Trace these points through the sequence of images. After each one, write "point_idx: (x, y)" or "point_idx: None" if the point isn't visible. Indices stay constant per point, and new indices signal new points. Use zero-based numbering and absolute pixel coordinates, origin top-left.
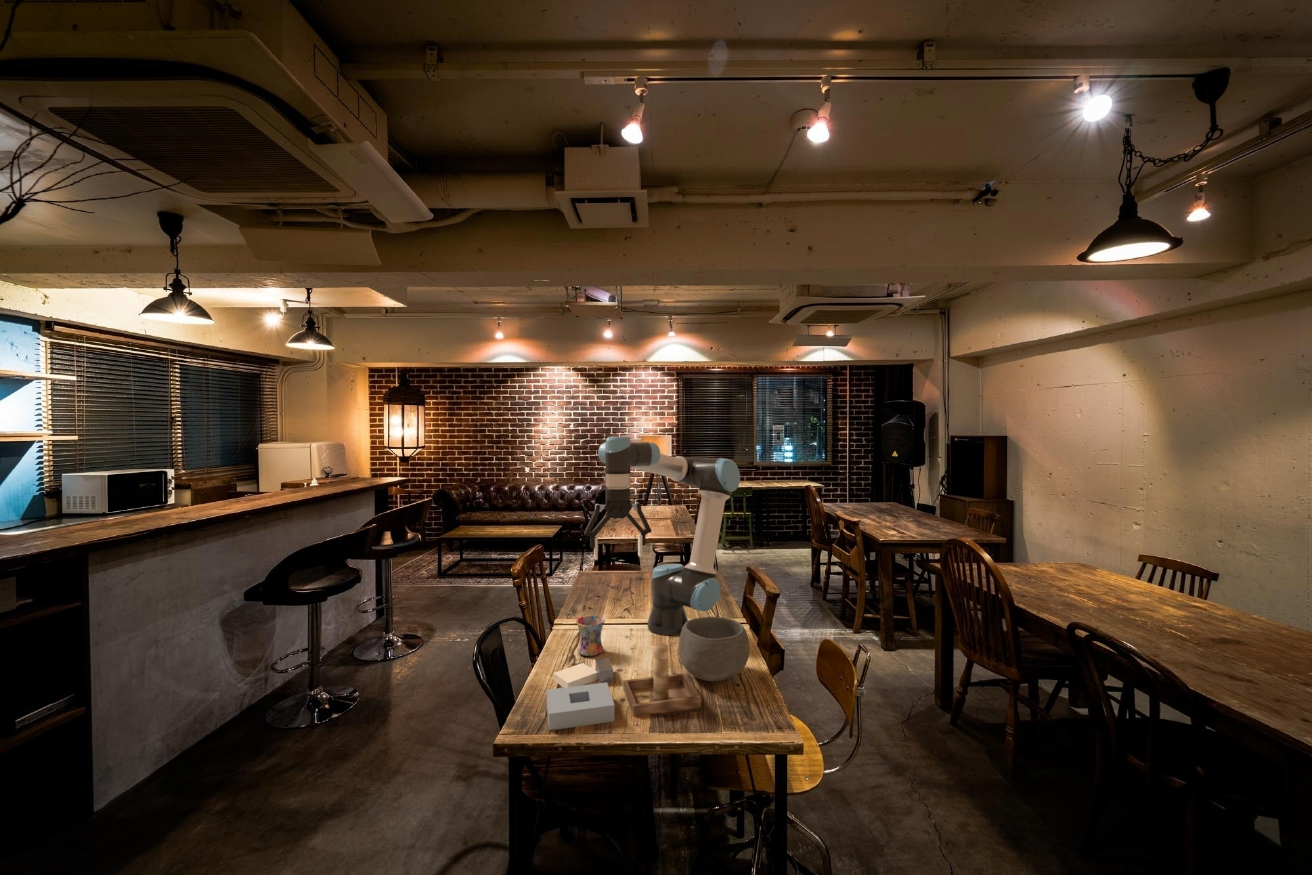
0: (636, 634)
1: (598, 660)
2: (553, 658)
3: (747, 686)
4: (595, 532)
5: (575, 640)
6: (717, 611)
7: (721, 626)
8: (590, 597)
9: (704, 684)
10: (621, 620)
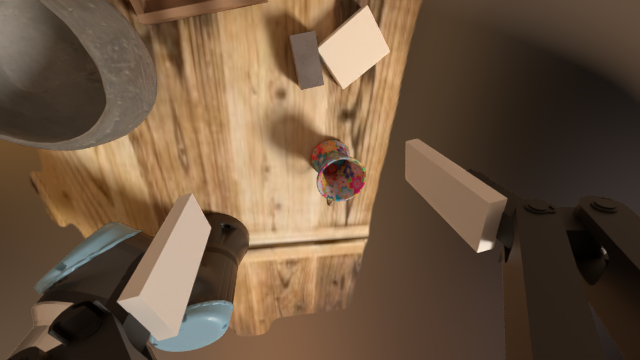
0: (264, 214)
1: (318, 79)
2: (382, 137)
3: None
4: (546, 232)
5: None
6: None
7: (34, 133)
8: (335, 308)
9: None
10: (290, 253)
